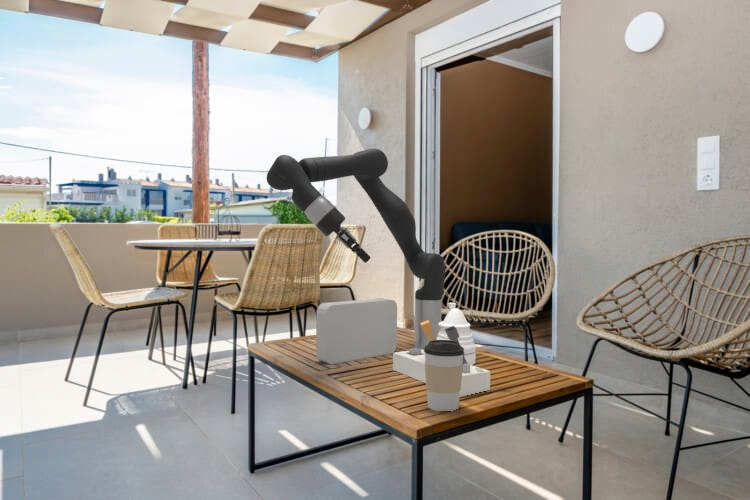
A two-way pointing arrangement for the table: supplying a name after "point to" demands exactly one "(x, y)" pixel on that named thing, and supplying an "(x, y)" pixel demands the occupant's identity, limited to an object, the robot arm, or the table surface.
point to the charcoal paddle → (454, 337)
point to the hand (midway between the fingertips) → (367, 260)
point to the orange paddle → (427, 329)
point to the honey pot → (459, 332)
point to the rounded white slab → (355, 330)
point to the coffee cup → (443, 374)
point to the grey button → (414, 351)
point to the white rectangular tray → (415, 368)
